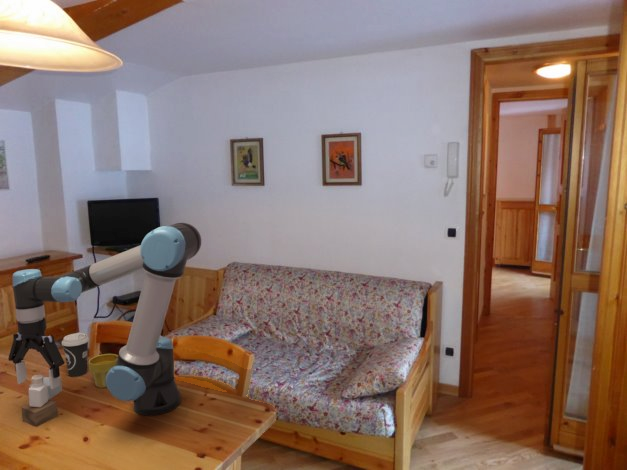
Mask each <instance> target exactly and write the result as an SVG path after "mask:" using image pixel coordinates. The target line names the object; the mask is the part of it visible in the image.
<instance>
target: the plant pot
mask: <svg viewBox="0 0 627 470" xmlns="http://www.w3.org/2000/svg"><path fill="white" fill-rule="evenodd" d="M117 358H118V354H116V353H104V354H100V355H96V356H95V355H94V356H93V357H91V358H90V359H88V360H87V365H88V371H89V372H90V373H91V375H92V378H93V382H94V385H95V386H96V388H99V389H100V388H102V389H105V388H107V386H106V375H107V373H108V372H109V370H110V369H111V368H112V367H114V366H115V365H116V362H117Z"/></svg>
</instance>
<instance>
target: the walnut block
mask: <svg viewBox="0 0 627 470" xmlns="http://www.w3.org/2000/svg"><path fill="white" fill-rule="evenodd" d="M20 409H21V419H22V422H23V423H25V424H28V425H30V426H32V427H35V428H37V427H39V426H41V425H43V424H45V423H47V422H50V421H52V420H53V419H56V418H57V417H59V416H58V415H59V414H58V402H57V401H55V400H54V401H53V400H52V399H50V400H49V399H48V402H47V403H45V404H44V405H43V406H42V407H31V406H30V405H29V403H28V404H26V405H24V406H21V408H20Z"/></svg>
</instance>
